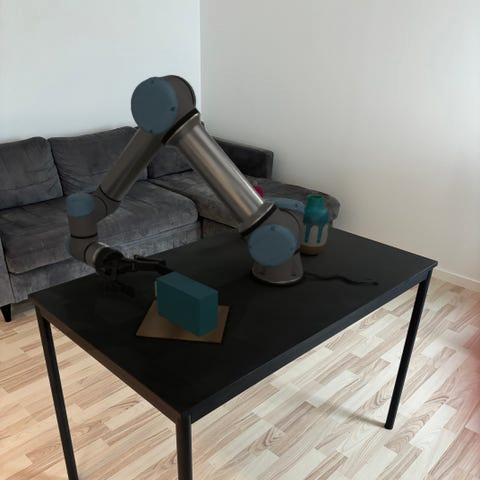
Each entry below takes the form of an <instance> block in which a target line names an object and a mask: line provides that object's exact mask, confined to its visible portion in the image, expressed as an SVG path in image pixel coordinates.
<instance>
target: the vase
mask: <svg viewBox="0 0 480 480" xmlns="http://www.w3.org/2000/svg"><path fill="white" fill-rule="evenodd" d="M304 212H305V214H304V216H303V225H302V234H301V243H300V252H299V253H300V254H304V255H309V256H312V255H313V256H314V255H318V254H320V253H321V252H323V250H324V249H325V247H326V244H327V240H328V236H329V235H328V234H329V226H330V212H329V210H328V209H327V208H326V207H325V196H324V195H322V194H317V193H310V194H308V195H307V196H306V201H305V204H304Z"/></svg>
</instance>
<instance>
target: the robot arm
mask: <svg viewBox="0 0 480 480" xmlns="http://www.w3.org/2000/svg"><path fill="white" fill-rule="evenodd" d="M130 112H131V116H132V118H133V121H134V122H135V124H136V125H137V127H138V129H137V131H136V132H135V133H134V135H133V136H132V138H131V139H130V141H128V143H127V144H126V146H125V148H124V149H123V151H122V152H121V153H120V155H119V157H118V158H117V159H116V161H115V162H114V163H113V165H112V167H111V168H110V169H109V171H108V172H107V173H106V175H105V176H104V178H103V179H102V180H101V182H100V184H99V185H98V187H96V189H95V190H94V191H93V192H92V193H91V194H90V193H85V192H78V193H72V194H70V195H68V196H67V197H66V199H65V206H66V209H65V210H66V211H65V212H66V215H67V221H68V227H69V233H70V235H69V236H68V237H67V238H66V241H65V243H64V244H65V246H64V247H65V250H66V252H67V254H68V255H69V256H71V257H72V258H73V259H74V260H76V261H78V262H81V263H83V264H86V265H87V266H89V267H91V268H93V269H94V270H95V277H96V278H98V279H99V282H100V286H101V288H102V291H103V292H107V291H108V290H109V289H110V292H111V293H115V292H118V293H122V294H124V295H126V296H128V297H129V298H132V299H134V298H135V297H136V291H135V286H133V285H132V284H129V283H128V282H126V281H123V280H121V279H120V278H119V276H122V275H125V274H127V273H137V272H157V273H158V275H161V277H162V276H164V275H167V274H169V273H172V272H177V270H175V269H173V268H171V267H169V266H168V265H167V260H166V259H163V258H158V257H157V258H156V257H149V256H144V255H140V254H133V257H131V258H130V257H126V256H125V255H124V253H122V252H121V251H120V250H119V249H116V248H114V247H112V246H110V245H108V244H106V243H103V242H101V241H99V229H98V223H100V222H101V221H102V220H104V219H105V218H107V217H109V216H110V215H113V214H114V213H115V212H116V211H117V210H119V208H120V207H121V204H122V200H123V199H124V198H125V196H126V195H127V194H128V192H129V191H130V189H131V188H132V187H133V186H134V184H135V183H136V182H137V180H138V179H139V178H140V176H141V175H142V174H143V173H144V171H145V170H146V169H147V167H148V166H149V165H150V163H151V162H152V161H153V160H154V159H155V157H156V155H158V153H159V151H160V150H161V149H162V148H163V146H164V147H165V148H170V149H174V150H176V152H177V153H178V154H179V155H180V157H181V158H182V159H183V161H185V162H186V163H187V165H188V166H189V167H190V168H191V169H192V170H193V172H194V173H195V174H196V175H197V176H198V178H200V180H201V181H202V182H203V183H204V185H206V187H207V188H208V189H209V190H210V191H211V193H212V194H213V195H214V196H215V197H216V198H217V200H218V201H220V203H221V205H222V206H223V207H224V208H225V209H226V210H227V212H228V213H229V214H230V215H231V216H232V217H233V219H234V220H235V221H236V222H237V223H238V233H239V235H240V236H241V237H242V238H243V240H245V242H246V243H247V250H248V252H249V255H250V257H251V258H252V260H254V261H253V262H254V263H253V266H252V270H251V271H252V272H251V275H252V277H253V278H254V279H255V280H256V281H257V282H259V283H262V284H264V285H268V286H273V287H288V286H294V285H296V284H297V285H298V283H301V282H302V281H303V277H304V275H307V276H311V277H314V278H315V279H316V278H317V279H320V280H330V279H335V278H336V279H342V280H344V281H346V282H348V283H352V284H354V285H355V284H358V285H359V284H365V283H367V282H357V281H358V280H355V281H352V280H353V279H351V280H349V279H350V278H349V279H347V278H348V277H347V278H345V277H346V276H345V277H343V276H344V275H342V276H338V275H339V274H331V275H326V276H325V275H319V274H316V273H313V272H309V271H305V270H304V267H303V263H302V259H301V255H300V254H301V252H300V243H301V234H302V225H303V216H304V214H305V212H304V206H305V204H304V203H303V201H300V200H297V199H293V198H285V197H269V198H265V199H263V197H261V196H260V195H259V194H258V193H257V191H256V190H255V189H254V188H253V187H252V186H253V185H252V184H251V183H250V182H249V180H248V179H247V178H246V177H245V175H244V174H243V173H242V172H241V171H240V169H239V168H238V167H237V165H236V164H235V163H234V162H233V161H232V160H231V159H230V158H229V156H228V154H227V153H226V152H225V151H224V150H223V149H222V147H221V146H220V145H219V144H218V143H217V141H216V140H215V139H214V138H213V137H212V135H211V134H210V133H209V132H208V131H207V130H206V127H204V126H203V124H202V121H201V120H202V113H201V112H200V111H199V109H198V108H197V96H196V93H195V90H194V88H193V86H192V85H191V83H190V82H189V81H188V80H186V79H185V78H183V76H180V75H176V74H167V75H163V76H151V77H148V78H147V79H145V80H142V81H141V82H140V83H138V84H137V85H136V87H135V88H134V90H133V92H132V94H131V98H130ZM107 276H108V277H109V280H107ZM365 280H372V278H367V279H365ZM375 281H376V282H372V283H373V284H374V285H376V286H380V284H379V282H378V281H377V280H375Z"/></svg>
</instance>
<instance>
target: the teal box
mask: <svg viewBox="0 0 480 480" xmlns="http://www.w3.org/2000/svg"><path fill="white" fill-rule="evenodd" d="M154 295H155V297H156V300H157V304H158V315H160V316H162V317H164V318H165V319H167V320H169V321H171V322H173V323H175V324H176V325H178V326H180V327H182V328H184V329H186V330H187V331H189V332H191V333H193V334H195V335H197V336H198V337H201V336H203V335H205V334H207V333H209V332H211V331H212V330H214V329H216V328H217V320H218V306H219V291H218V290H216V289H214V288H212V287H209V286H208V285H206V284H203V283H201V282H199V281H196V280H194V279H192V278H190V277H188V276H185V275H184V274H181V273H179V272H178V271H176V272H172V273H169V274H167V275H164V276H162V275H161V276H158V277H157V278H155V281H154Z"/></svg>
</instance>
